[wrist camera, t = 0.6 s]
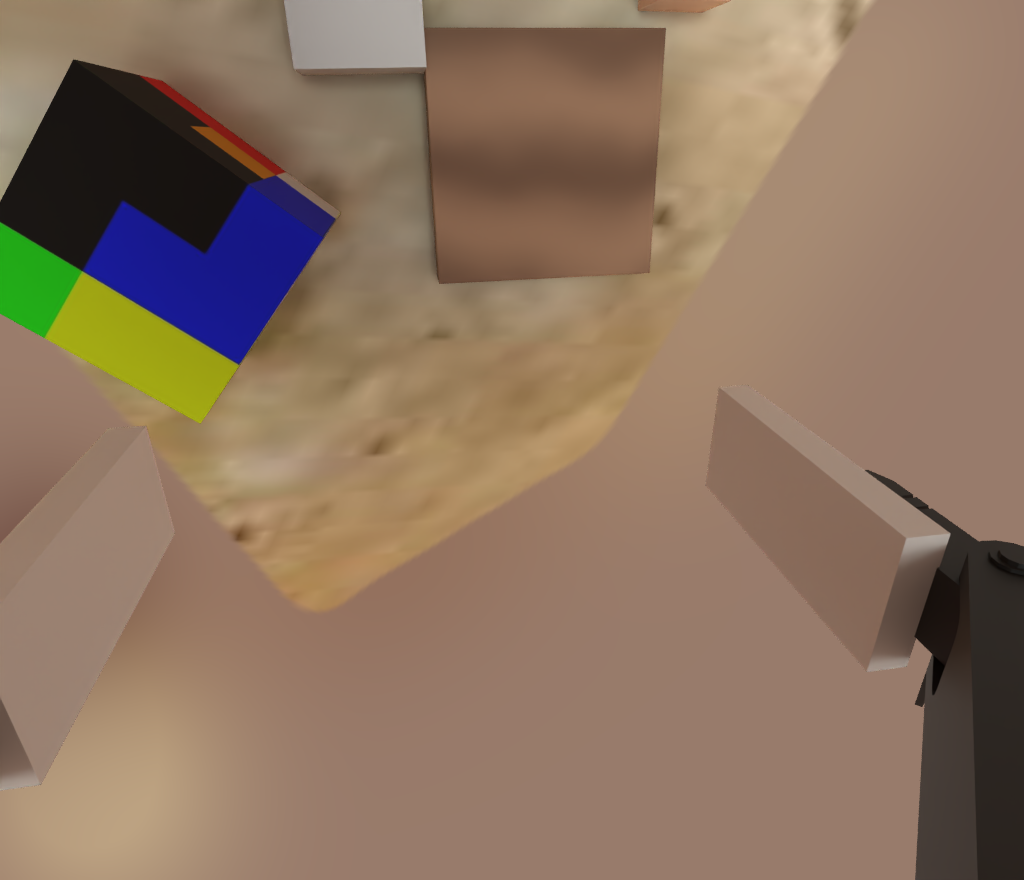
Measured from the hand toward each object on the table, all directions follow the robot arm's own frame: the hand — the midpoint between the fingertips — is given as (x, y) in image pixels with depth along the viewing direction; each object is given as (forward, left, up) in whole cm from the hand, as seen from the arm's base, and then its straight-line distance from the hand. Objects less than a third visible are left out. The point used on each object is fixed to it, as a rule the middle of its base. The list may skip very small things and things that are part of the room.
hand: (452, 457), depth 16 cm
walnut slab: (-6, +7, -25) cm, 26 cm away
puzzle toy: (-3, -11, -25) cm, 27 cm away
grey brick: (-12, -2, -25) cm, 28 cm away
